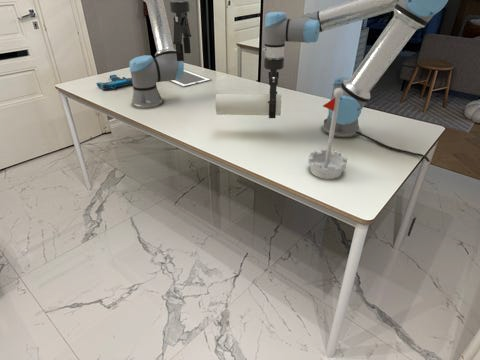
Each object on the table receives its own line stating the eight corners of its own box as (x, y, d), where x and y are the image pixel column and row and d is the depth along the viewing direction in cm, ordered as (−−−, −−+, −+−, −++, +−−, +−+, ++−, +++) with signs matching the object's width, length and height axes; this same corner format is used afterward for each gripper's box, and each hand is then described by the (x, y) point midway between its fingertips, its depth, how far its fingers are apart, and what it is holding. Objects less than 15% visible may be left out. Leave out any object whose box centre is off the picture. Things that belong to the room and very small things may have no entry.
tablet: (156, 75, 222) (156, 74, 221) (183, 69, 233) (183, 69, 233) (183, 86, 201) (183, 86, 201) (210, 80, 212) (210, 79, 212)
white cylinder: (280, 111, 145) (281, 91, 140) (280, 118, 138) (281, 98, 133) (218, 110, 147) (217, 90, 142) (216, 117, 140) (214, 97, 135)
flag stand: (330, 158, 128) (344, 79, 112) (352, 176, 118) (370, 92, 102) (300, 165, 124) (309, 84, 108) (320, 183, 114) (333, 97, 98)
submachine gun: (140, 68, 226) (159, 74, 209) (142, 73, 228) (160, 80, 211) (89, 77, 207) (104, 85, 190) (90, 84, 209) (106, 92, 192)
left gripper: (177, -3, 144) (182, 50, 156) (161, 4, 123) (168, 64, 135) (194, -2, 144) (198, 50, 155) (181, 4, 123) (186, 64, 134)
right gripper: (264, 51, 138) (263, 104, 150) (263, 64, 120) (262, 123, 133) (283, 51, 138) (280, 104, 150) (284, 64, 120) (281, 124, 132)
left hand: (184, 56), depth 145 cm, fingers open, 13 cm apart
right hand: (272, 113), depth 141 cm, fingers closed on white cylinder, 8 cm apart
